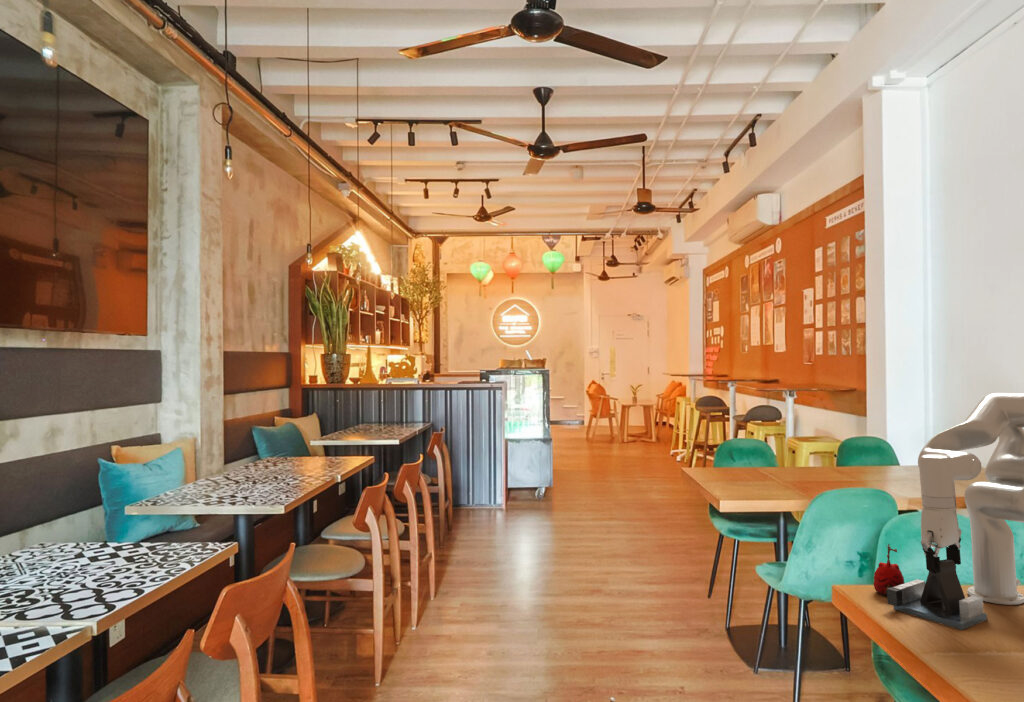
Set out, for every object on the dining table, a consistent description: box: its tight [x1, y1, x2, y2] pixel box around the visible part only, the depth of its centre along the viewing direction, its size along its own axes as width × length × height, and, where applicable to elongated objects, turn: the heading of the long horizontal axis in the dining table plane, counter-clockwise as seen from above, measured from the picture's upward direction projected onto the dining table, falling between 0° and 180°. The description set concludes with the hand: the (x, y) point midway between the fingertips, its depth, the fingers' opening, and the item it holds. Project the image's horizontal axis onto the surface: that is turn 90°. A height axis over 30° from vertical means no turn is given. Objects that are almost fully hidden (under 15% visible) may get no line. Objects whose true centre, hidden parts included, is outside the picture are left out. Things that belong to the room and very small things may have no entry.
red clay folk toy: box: [873, 543, 905, 597], centre depth 181 cm, size 8×7×15 cm
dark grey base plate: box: [893, 595, 988, 631], centre depth 165 cm, size 12×16×6 cm
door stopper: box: [920, 558, 966, 614], centre depth 166 cm, size 9×6×12 cm, turn 16°
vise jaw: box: [886, 579, 926, 607], centre depth 171 cm, size 14×2×4 cm, turn 119°
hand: (943, 567), depth 167 cm, fingers open, 9 cm apart
